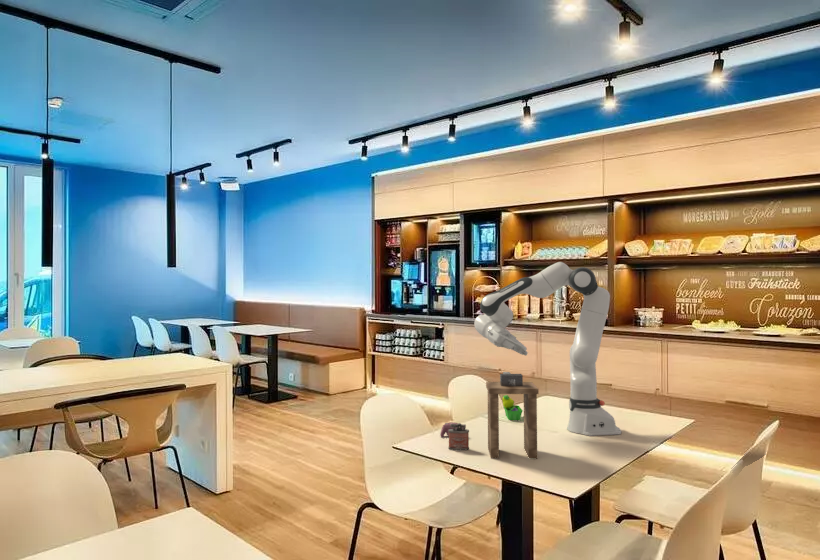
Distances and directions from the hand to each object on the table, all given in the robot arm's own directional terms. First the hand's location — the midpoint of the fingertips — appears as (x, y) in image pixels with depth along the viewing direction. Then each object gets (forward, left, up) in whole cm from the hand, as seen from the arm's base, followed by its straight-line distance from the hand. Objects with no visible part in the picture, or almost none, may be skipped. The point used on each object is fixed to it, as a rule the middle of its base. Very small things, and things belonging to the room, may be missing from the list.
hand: (519, 350), depth 233 cm
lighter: (+27, +22, -36) cm, 50 cm away
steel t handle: (+7, +20, -10) cm, 24 cm away
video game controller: (+29, +4, -36) cm, 47 cm away
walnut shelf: (+7, +27, -36) cm, 46 cm away
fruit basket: (0, -29, -36) cm, 46 cm away
